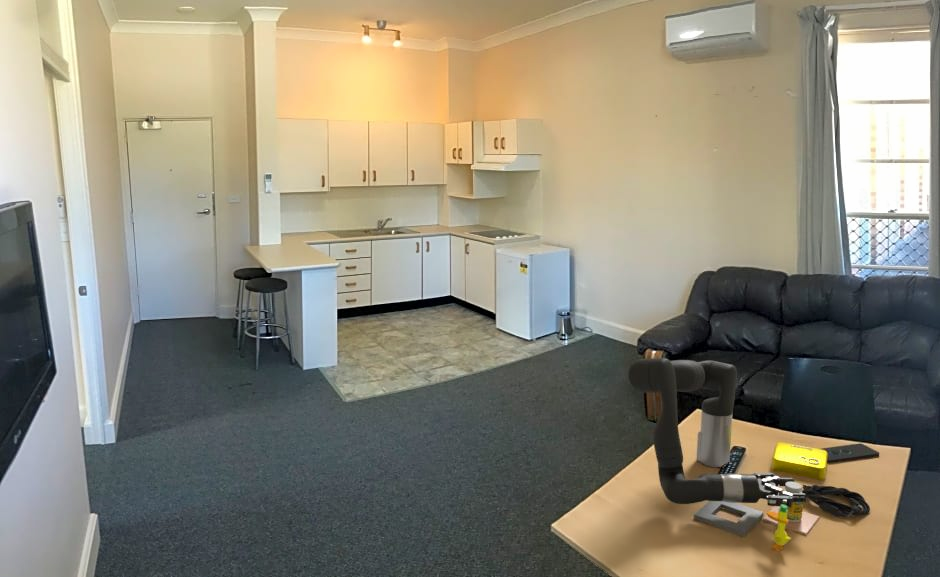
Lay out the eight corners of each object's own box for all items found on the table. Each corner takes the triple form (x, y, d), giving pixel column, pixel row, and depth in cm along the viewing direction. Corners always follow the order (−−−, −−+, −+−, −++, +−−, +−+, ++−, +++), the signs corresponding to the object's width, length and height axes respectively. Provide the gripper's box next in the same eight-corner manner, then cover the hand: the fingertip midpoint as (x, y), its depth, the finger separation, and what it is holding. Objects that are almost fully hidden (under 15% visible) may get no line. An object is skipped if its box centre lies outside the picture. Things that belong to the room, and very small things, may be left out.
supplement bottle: (787, 510, 185) (790, 478, 183) (805, 518, 180) (809, 486, 178) (775, 516, 182) (778, 483, 180) (794, 525, 177) (797, 491, 176)
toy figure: (760, 544, 170) (763, 501, 168) (767, 539, 172) (771, 496, 170) (786, 556, 165) (790, 512, 162) (793, 551, 167) (797, 507, 164)
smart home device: (810, 449, 221) (860, 442, 225) (809, 454, 221) (860, 447, 226) (828, 460, 213) (880, 452, 218) (828, 465, 213) (880, 457, 218)
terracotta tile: (762, 520, 181) (762, 518, 181) (777, 504, 189) (777, 502, 189) (806, 535, 174) (806, 533, 174) (819, 518, 182) (819, 516, 181)
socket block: (693, 518, 183) (694, 514, 182) (714, 499, 192) (714, 495, 192) (743, 536, 173) (744, 532, 173) (763, 516, 183) (763, 512, 183)
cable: (790, 497, 193) (791, 483, 192) (819, 485, 200) (820, 471, 199) (848, 525, 179) (850, 510, 178) (878, 510, 186) (879, 496, 185)
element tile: (827, 462, 215) (828, 448, 214) (824, 482, 202) (826, 467, 201) (776, 453, 222) (777, 439, 221) (770, 471, 210) (771, 457, 209)
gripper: (746, 488, 173) (812, 490, 172) (730, 463, 187) (790, 464, 186) (745, 514, 175) (809, 516, 173) (729, 488, 189) (788, 489, 187)
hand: (799, 489), depth 179 cm, fingers open, 8 cm apart
